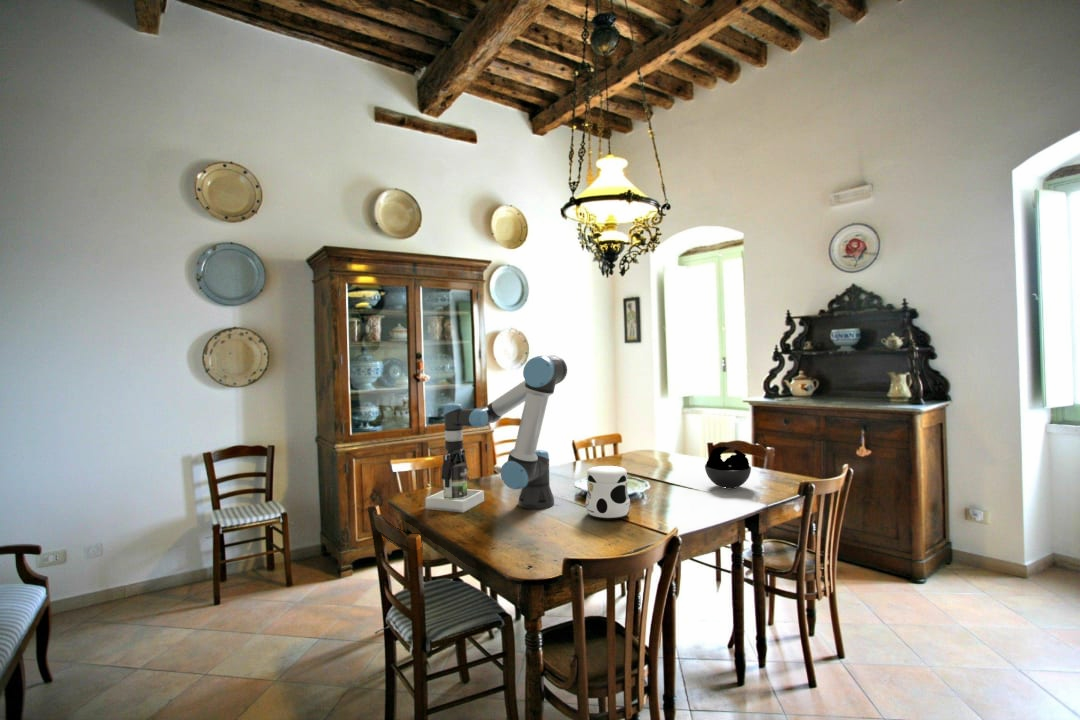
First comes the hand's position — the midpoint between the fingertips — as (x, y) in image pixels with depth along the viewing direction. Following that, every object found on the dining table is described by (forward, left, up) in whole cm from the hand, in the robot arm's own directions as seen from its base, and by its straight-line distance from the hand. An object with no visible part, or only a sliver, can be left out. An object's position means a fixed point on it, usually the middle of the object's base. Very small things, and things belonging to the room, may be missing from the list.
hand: (455, 491), depth 231 cm
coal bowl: (-107, -62, -6) cm, 124 cm away
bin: (0, 0, -6) cm, 6 cm away
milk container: (-66, -5, -6) cm, 66 cm away
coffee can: (0, 0, -3) cm, 3 cm away
